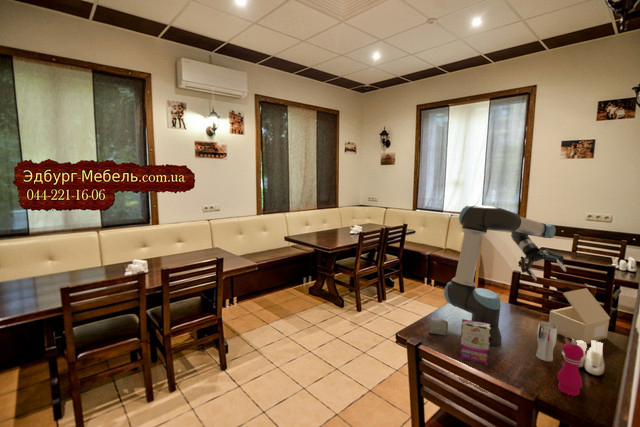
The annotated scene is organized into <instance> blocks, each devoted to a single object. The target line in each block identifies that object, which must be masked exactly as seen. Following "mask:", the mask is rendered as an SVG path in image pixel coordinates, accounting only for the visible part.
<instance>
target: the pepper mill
mask: <svg viewBox="0 0 640 427" xmlns="http://www.w3.org/2000/svg"><path fill="white" fill-rule="evenodd" d="M562 352H563V360H564V363H563V366H562V367H561V369H560V370H559V371H558V373H557V381H558V383H557V389H558V390H559V391H560V392H561V393H562V392H563V393H562V394H564V393H566V394H568V395H567V396H569V395H574V396H576V395H579V396H580V392H581V391H580V389H581V388H582V386H583V380H582V379H583V378H582V376H581V374H580V371H579V366H580V365H581V363H582V360H581V359H583V358H584V356H585V352H584V349H583V348H582V347H581V346H580V345H579V344H578V343H577V342H576V341H575V340H570V342H567V343H565V344H564V345H563V347H562ZM566 394H565V395H566Z"/></svg>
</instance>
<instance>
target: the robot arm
mask: <svg viewBox="0 0 640 427" xmlns="http://www.w3.org/2000/svg"><path fill="white" fill-rule="evenodd" d="M458 217H459V218H458V221H459V224H460V225H461V226H462V227H461V229H462V231H463V238H462V243H461V248H460V252H459V258H458V263H457V268H456V272H455V276H454V277H453V278H452V279H451V280H450V281H449V282H447V283H446V285H445V287H444V290H443V294H444V295H443V296H444V299H445V301H446V302H447V303H448V304H450V305H451V306H453V307H455V308H458V309H461V310H463V311H466V312H467V313H469V314H471V319H470V321H476V322H482V323H487V324H490V328H491V333H490V347H498V346H500V345H501V344H502V340H503V339H502V333H501V331H500V328H499V324H500V313H501V297H500V296H499V294H497V293H496V292H495V291H492V290H490V289H487V288H483V287H478V288H477V287H476V286H477V284H476V283H475V282H474V279H475V274H476V270H477V265H478V260H479V254H480V250H481V245H482V240H483V236H484V235H486V234H487V232H488V231H499V232H501V231H502V232H511V234H510V236H511V239H512V240H513V242H514V243H515V244H516V245H517V247H518V248H519V249H520V251H521V252H522V253H523V255H524V257H523V256H521V257H520V260H521V263H520V264H521V265H520V266H521V268H520V270H521V273H523V274H524V273H526V274H527V275H528V276H529V277H531V276H532V278H533V279H534V281H535V282H536V281H538V278H537V276H536V275H535V273H534V272H533V271H532V269H531V267H532V266H533V264H534V263H535V262H538V261H541V260H547V261H552V262H556V263H557V265H558V266H559V267H560V269H562V270H563V272H567V268H566V266H565V263H564V260H565V259H564V255H562V254H559V253H557V252H554V251H551V250H549V249H548V248H545V249H544V250H541V249H540V248H539V247H538V246H537V245H536V243H535V242H534V241H533V240H532V239H531V238H530V237H529V236H532V237H538V238H543V239H552V238H554V237H555V234H556V231H557V230H556V226H555V225H553V224H550V223H543V222H539V221H536V220H533V219H529V218H526V217H523V216H520V214H518V213H516V212H513V211H510V210H508V209H504V208H502V207H498V206H490V205H488V206H487V205H481V204H467V205H466V206H464V207H463V208H462V209H461V211H460V213H459V215H458ZM527 260H528V261H527ZM526 261H527V263H526Z"/></svg>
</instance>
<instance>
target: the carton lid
mask: <svg viewBox="0 0 640 427" xmlns="http://www.w3.org/2000/svg"><path fill="white" fill-rule="evenodd" d="M562 294H563V296H564V297H565V299H566V300H567V301H568V303H569V304H570V305H571V306H572V307H573V308H574V309H575V311H576V312H577V314H578V315H579V316H580V318H581V319H582V320H583V322H584V323H585V325H589V324H593V323H597V322H600V321H604V320H608V319H609V320H611V317H610V316H609V315H608V313H607V312H606V311H605V309H604V308H603V307H602V305H601V304H600V303H599V302H598V300H597V299H596V298H595V296H594V295H593V294H592V293H591V292H590V290H589V289H588V288H587V287H586V288H580V289H575V290H570V291H565V292H562Z"/></svg>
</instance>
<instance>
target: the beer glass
mask: <svg viewBox="0 0 640 427" xmlns="http://www.w3.org/2000/svg"><path fill="white" fill-rule="evenodd" d="M536 338H537V339H536V340H537V350H536V354H535V356H536V357H537V358H538V359H539V360H542V361H544V362H548V363H549V362H553V361H554V356H553V354H554V348H555V347H556V344H557V339H558V334H557V326H555V325H554V324H551V323H549V321H547V322H546V321H539V322H538V326H537V332H536Z"/></svg>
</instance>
